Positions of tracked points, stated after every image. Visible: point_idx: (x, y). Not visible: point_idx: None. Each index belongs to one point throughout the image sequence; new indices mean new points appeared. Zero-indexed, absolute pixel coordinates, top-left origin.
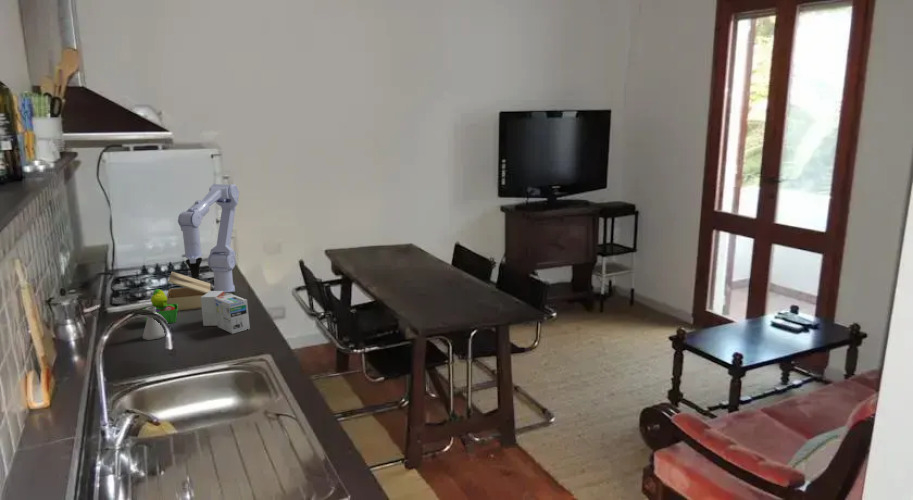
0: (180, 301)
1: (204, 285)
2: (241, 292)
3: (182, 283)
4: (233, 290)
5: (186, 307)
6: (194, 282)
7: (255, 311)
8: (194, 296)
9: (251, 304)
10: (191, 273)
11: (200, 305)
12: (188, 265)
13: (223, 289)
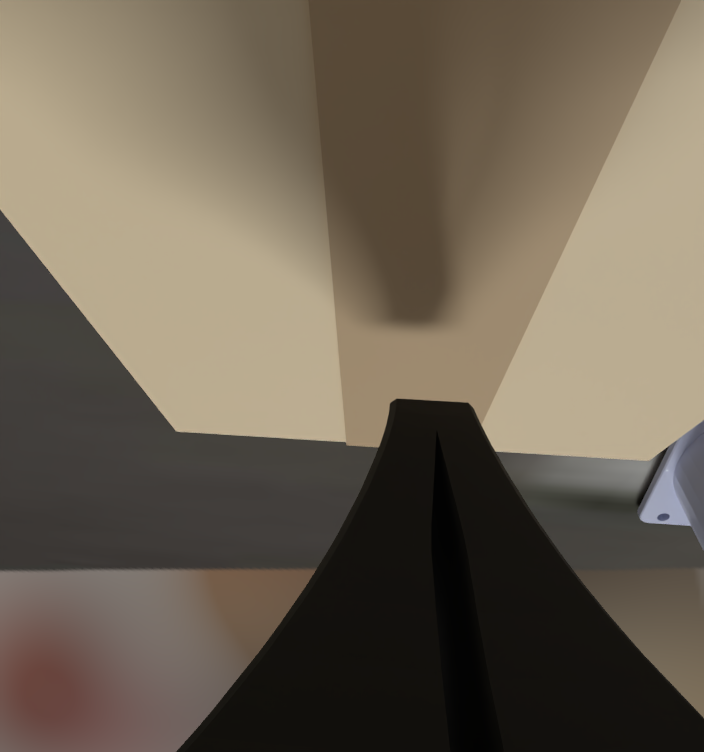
0: None
1: None
2: (587, 543)
3: (76, 165)
4: (654, 516)
5: None
6: (471, 345)
7: (59, 554)
8: None
9: (223, 555)
10: (369, 470)
11: None
12: (214, 721)
13: (690, 472)
